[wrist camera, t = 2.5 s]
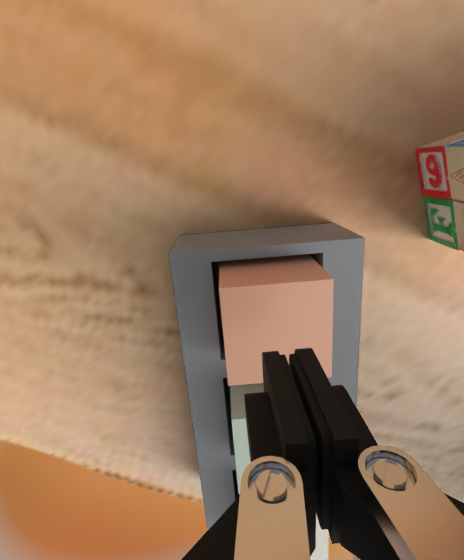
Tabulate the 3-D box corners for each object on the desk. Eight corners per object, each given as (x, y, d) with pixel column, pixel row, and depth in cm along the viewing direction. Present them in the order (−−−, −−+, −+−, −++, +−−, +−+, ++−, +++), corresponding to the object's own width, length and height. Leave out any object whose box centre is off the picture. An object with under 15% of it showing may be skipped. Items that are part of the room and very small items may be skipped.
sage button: (307, 357, 22) (330, 411, 17) (307, 421, 23) (329, 486, 18) (229, 364, 22) (231, 419, 17) (235, 427, 23) (238, 493, 18)
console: (333, 222, 22) (364, 237, 17) (328, 470, 29) (350, 530, 24) (180, 235, 22) (168, 254, 17) (211, 479, 29) (209, 541, 24)
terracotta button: (306, 251, 19) (333, 279, 15) (306, 329, 21) (331, 377, 16) (219, 258, 19) (218, 288, 15) (226, 336, 21) (228, 385, 16)
